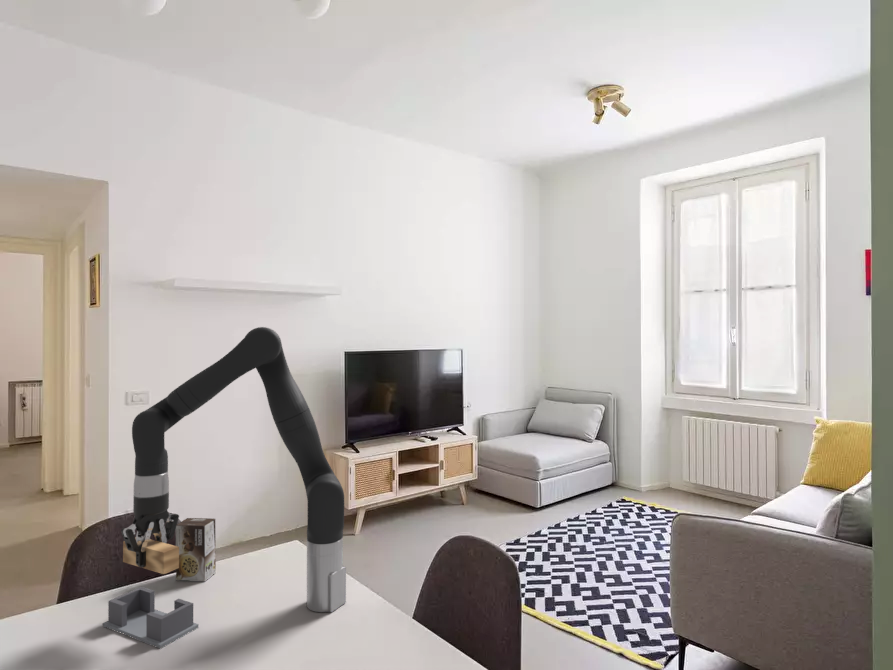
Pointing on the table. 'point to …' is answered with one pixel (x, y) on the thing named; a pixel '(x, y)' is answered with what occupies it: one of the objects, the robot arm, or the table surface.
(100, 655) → the table surface
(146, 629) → the end caps
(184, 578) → the coffee box
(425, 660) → the table surface
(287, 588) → the table surface
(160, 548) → the wooden block
